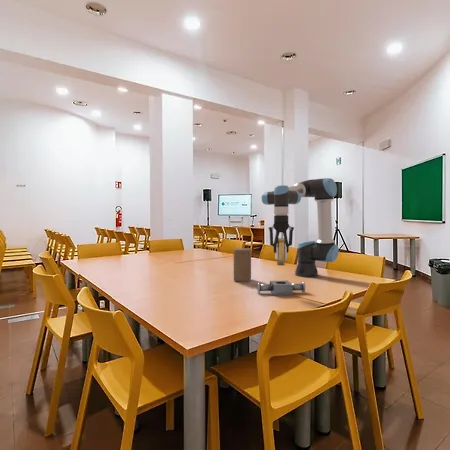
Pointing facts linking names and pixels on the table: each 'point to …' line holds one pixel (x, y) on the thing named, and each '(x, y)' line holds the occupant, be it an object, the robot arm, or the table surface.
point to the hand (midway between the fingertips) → (280, 258)
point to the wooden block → (242, 264)
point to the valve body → (281, 287)
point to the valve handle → (281, 251)
